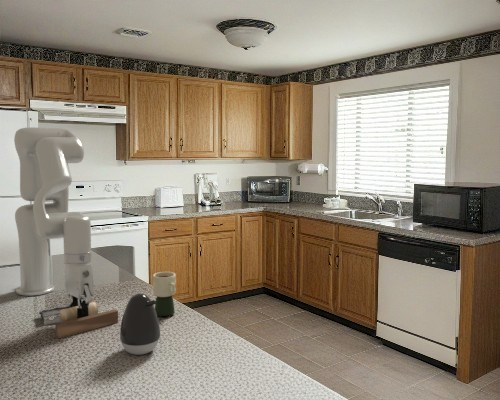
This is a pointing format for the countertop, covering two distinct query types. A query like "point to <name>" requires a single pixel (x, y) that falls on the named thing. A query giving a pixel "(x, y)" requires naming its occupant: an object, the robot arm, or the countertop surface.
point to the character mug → (164, 292)
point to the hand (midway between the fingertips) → (79, 317)
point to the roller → (72, 312)
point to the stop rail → (86, 323)
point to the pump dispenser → (139, 325)
